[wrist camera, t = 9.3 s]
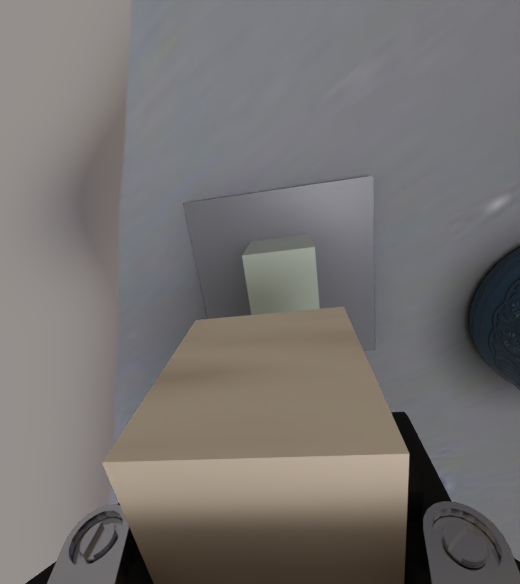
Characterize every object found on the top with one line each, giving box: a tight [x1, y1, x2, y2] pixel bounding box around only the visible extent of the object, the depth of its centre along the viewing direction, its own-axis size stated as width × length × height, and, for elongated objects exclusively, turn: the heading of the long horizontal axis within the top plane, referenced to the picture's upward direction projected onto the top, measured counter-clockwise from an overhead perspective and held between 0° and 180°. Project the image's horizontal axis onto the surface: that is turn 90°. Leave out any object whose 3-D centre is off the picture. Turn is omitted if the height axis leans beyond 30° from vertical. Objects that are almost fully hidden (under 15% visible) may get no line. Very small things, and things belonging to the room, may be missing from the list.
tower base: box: [183, 176, 375, 351], centre depth 22 cm, size 14×14×6 cm
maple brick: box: [102, 307, 409, 584], centre depth 8 cm, size 7×4×5 cm, turn 8°
